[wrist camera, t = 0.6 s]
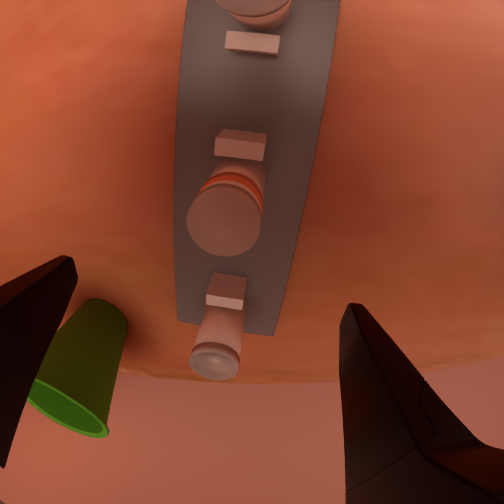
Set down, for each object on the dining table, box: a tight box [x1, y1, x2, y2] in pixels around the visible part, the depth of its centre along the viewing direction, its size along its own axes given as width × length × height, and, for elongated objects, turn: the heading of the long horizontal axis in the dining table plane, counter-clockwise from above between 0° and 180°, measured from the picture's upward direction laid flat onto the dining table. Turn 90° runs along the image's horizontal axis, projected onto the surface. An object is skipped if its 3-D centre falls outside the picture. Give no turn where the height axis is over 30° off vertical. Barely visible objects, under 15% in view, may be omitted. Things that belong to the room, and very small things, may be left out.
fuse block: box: [174, 0, 340, 336], centre depth 17 cm, size 8×26×3 cm, turn 173°
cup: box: [27, 300, 127, 438], centre depth 23 cm, size 9×9×11 cm
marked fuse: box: [186, 156, 266, 256], centre depth 15 cm, size 3×3×6 cm
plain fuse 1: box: [189, 297, 247, 380], centre depth 21 cm, size 3×3×6 cm
